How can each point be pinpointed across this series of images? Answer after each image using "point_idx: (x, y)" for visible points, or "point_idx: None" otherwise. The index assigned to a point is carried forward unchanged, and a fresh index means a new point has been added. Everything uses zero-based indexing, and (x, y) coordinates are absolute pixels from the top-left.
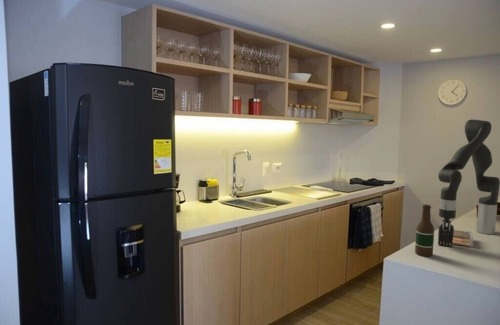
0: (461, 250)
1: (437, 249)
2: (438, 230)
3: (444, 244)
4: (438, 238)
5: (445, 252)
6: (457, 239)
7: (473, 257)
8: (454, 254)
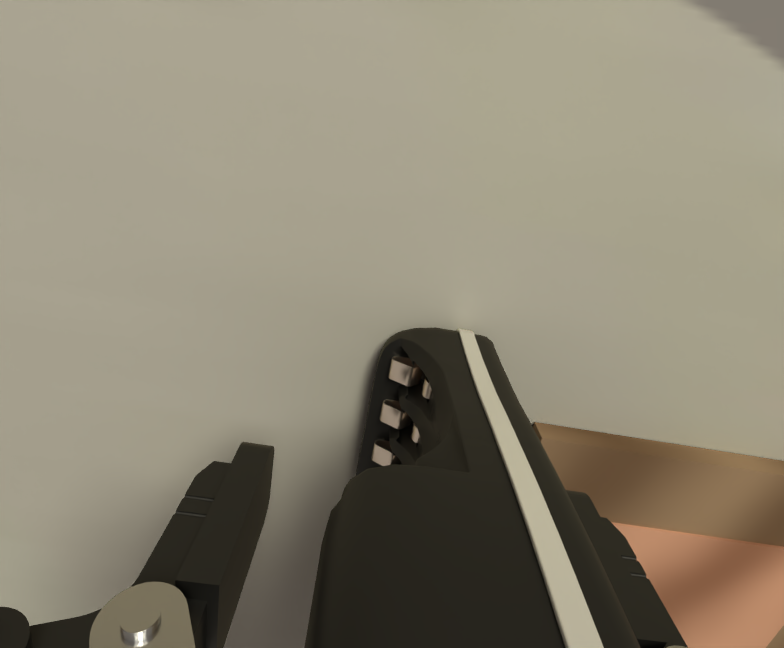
0: (268, 562)
1: (125, 267)
2: (529, 534)
3: (396, 421)
4: (445, 384)
5: (25, 362)
6: (729, 617)
7: (37, 615)
8: (9, 459)
